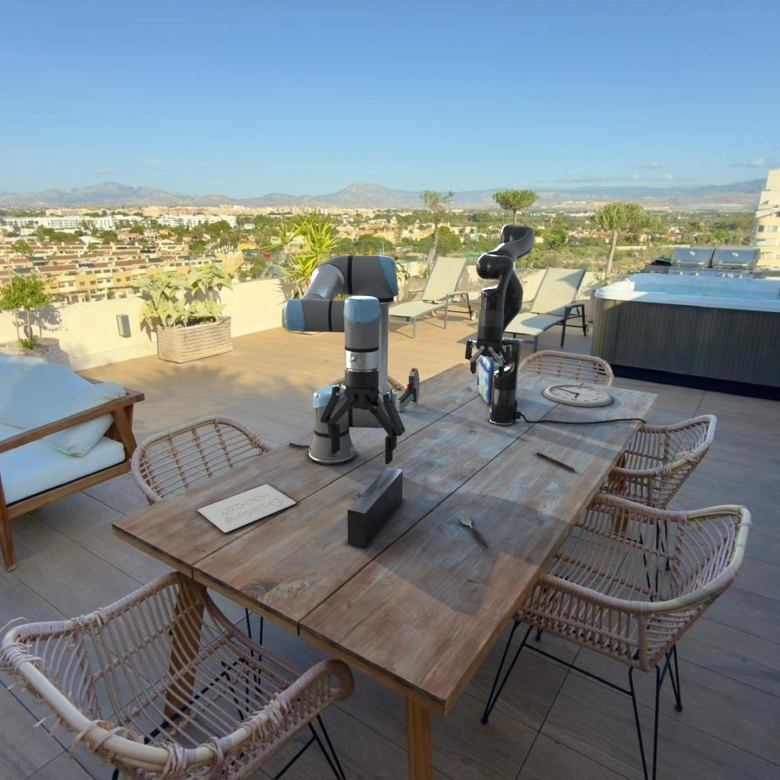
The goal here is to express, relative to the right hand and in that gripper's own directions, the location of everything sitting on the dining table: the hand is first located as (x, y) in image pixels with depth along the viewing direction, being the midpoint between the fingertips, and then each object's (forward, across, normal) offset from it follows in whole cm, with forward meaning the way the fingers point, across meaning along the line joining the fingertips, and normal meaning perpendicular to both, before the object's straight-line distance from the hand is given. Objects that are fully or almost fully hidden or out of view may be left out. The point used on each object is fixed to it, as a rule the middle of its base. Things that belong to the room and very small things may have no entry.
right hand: (486, 375), depth 162 cm
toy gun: (+30, -46, +34) cm, 65 cm away
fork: (+30, +14, -40) cm, 51 cm away
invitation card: (+30, -43, -61) cm, 80 cm away
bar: (+30, -10, -48) cm, 57 cm away
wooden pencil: (+30, +21, +12) cm, 38 cm away
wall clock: (+30, +12, +91) cm, 96 cm away
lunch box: (+30, -20, +65) cm, 74 cm away
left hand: (+8, -8, -57) cm, 58 cm away
